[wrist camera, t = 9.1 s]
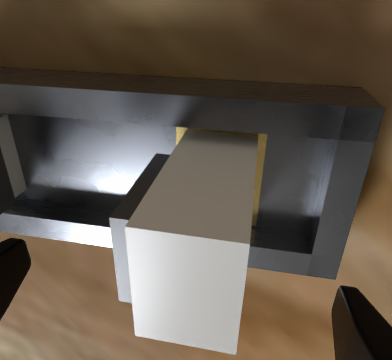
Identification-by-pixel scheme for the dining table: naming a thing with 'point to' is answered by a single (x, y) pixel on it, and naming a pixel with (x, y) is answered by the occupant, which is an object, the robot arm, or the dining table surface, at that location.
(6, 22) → the dining table surface
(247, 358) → the dining table surface
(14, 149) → the block
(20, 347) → the dining table surface
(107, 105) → the grey rectangular tray
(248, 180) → the block
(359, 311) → the robot arm
